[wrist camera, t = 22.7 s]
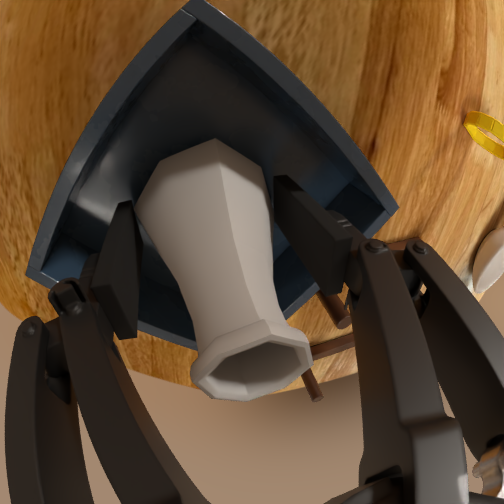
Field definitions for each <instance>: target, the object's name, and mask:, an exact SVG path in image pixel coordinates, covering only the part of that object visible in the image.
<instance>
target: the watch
mask: <svg viewBox="0 0 504 504" xmlns="http://www.w3.org/2000/svg"><path fill="white" fill-rule="evenodd" d="M463 126H465V128H466V129H467V131H468V132H469V134H470V136H471V137H472V139H473V140H474V141H475V142H476V143H478V144H479V145H480V146H481V147H482V148H484V149H485V150H487V151H488V152H490V153H491V154H493V155H495V156H497V157H498V158H500V159H502V160H504V146H503V145H501V144H499V143H496V142H495V141H494V140H492V139H491V138H489V137H488V136H486V135H485V134H484V133H483V132H482V131H481V130H479V129H478V128H477V126H479V127H480V128H483V129H485V130H487V131H488V132H491V133H492V134H493V135H495V136H496V137H497V138H499V139H500V140H501V141H503V143H504V125H503V124H502V123H501V122H499V121H498V120H497V119H494V118H493V117H491V116H489V115H487V114H485V113H481V112H477V111H470V112H469V113H467V115H466V118H465V121H464V123H463Z"/></svg>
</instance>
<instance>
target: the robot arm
mask: <svg viewBox="0 0 504 504" xmlns="http://www.w3.org/2000/svg"><path fill="white" fill-rule="evenodd" d="M273 190H274V221H275V223H276V224H277V226H278V227H279V229H280V230H281V232H282V233H283V234H284V236H285V237H286V239H287V240H288V242H289V243H290V245H291V246H292V248H293V249H294V250H295V252H296V253H297V255H298V256H299V258H300V259H301V261H302V262H303V264H304V265H305V267H306V268H307V270H308V271H309V273H310V274H311V276H312V277H313V279H314V280H315V282H316V283H317V285H318V286H319V288H320V289H321V291H322V292H323V294H324V296H325V297H328V296H331V295H335V294H338V293H342V288H343V284H344V282H345V283H346V285H347V286H348V287H349V290H348V294H347V298H346V302H345V305H344V310H347V306H348V305H349V310H350V316H351V322H352V329H353V335H354V342H355V350H356V357H357V366H358V374H359V384H360V394H361V407H362V420H363V439H364V451H363V455H362V458H361V461H360V465H359V487H357V488H355V489H353V490H351V491H348V492H346V493H344V494H342V495H339V496H337V497H335V498H332V499H330V500H329V501H328V502H326V503H324V504H504V338H503V336H502V335H501V333H500V332H499V330H498V329H497V328H496V326H495V324H494V323H493V322H492V320H491V319H490V317H489V316H488V315H487V313H486V312H485V311H484V309H483V308H482V306H481V305H480V304H479V302H478V301H477V300H476V298H475V297H474V296H473V295H472V293H471V292H470V291H469V290H468V288H467V287H466V286H465V285H464V283H463V282H462V281H461V280H460V279H459V277H458V276H457V275H456V274H455V273H454V272H453V270H452V269H451V268H450V267H449V266H448V265H447V263H446V262H445V261H444V260H443V259H442V258H441V257H440V256H439V255H438V253H437V252H436V251H435V250H434V249H433V248H432V247H431V246H430V245H428V244H427V243H425V242H424V241H421V240H409V241H408V242H407V243H406V246H405V249H404V250H391V249H390V247H389V246H388V245H387V244H386V243H384V242H383V241H380V240H378V239H372V238H370V239H367V238H366V237H365V236H364V235H363V234H362V233H361V232H360V231H359V230H358V229H357V228H356V227H355V226H354V225H353V226H352V224H351V223H350V222H349V221H347V219H346V218H345V217H344V216H343V215H342V214H340V213H338V212H336V211H334V210H328V211H326V210H325V209H324V208H323V207H322V206H321V205H320V204H319V203H318V202H317V201H315V200H314V199H313V198H312V197H311V196H310V195H309V194H308V193H307V192H306V191H305V190H303V189H302V188H301V187H300V186H299V185H298V184H297V183H296V182H294V181H293V180H292V179H291V178H290V177H289V176H288V175H278V176H273ZM143 245H144V244H143V240H142V237H141V233H140V230H139V226H138V223H137V219H136V215H135V211H134V207H133V204H132V200H129V201H124V202H120V203H118V204H117V207H116V210H115V212H114V215H113V218H112V220H111V223H110V226H109V228H108V231H107V234H106V237H105V240H104V243H103V246H102V249H101V252H100V253H96V254H91V255H90V256H89V258H88V259H87V260H86V261H85V263H84V265H83V268H82V272H81V274H80V278H79V280H78V279H77V278H74V277H69V278H65V279H63V280H61V281H59V282H58V283H56V284H55V285H54V286H53V287H52V288H51V290H50V292H49V294H48V299H49V301H50V303H51V304H52V306H53V307H54V309H55V311H56V312H57V314H58V315H59V317H57V318H56V319H53V320H51V321H49V322H47V323H45V324H44V323H43V322H42V320H41V319H40V318H39V317H37V316H31V317H29V318H27V319H25V320H24V321H23V322H22V323H21V325H20V326H19V327H18V330H17V332H16V337H15V341H14V346H13V351H12V357H11V364H10V370H9V377H8V387H7V396H6V410H5V455H6V469H7V478H8V486H9V493H10V499H11V504H94V501H93V497H92V493H91V489H90V485H89V481H88V476H87V471H86V466H85V461H84V455H83V449H82V442H81V435H80V427H79V418H78V405H79V408H80V411H81V414H82V417H83V420H84V423H85V425H86V428H87V431H88V434H89V437H90V439H91V442H92V444H93V446H94V449H95V451H96V454H97V456H98V458H99V460H100V463H101V465H102V467H103V469H104V471H105V473H106V475H107V477H108V479H109V481H110V483H111V485H112V487H113V489H114V491H115V493H116V494H117V497H118V498H119V500H120V502H121V504H211V503H210V502H209V501H207V499H205V497H204V496H203V495H202V494H201V492H200V491H199V490H198V489H197V487H196V486H195V485H194V483H193V482H192V481H191V479H190V478H189V477H188V475H187V474H186V472H185V471H184V470H183V468H182V467H181V465H180V464H179V462H178V461H177V459H176V458H175V456H174V455H173V453H172V452H171V450H170V449H169V447H168V445H167V444H166V442H165V440H164V439H163V437H162V436H161V434H160V432H159V430H158V429H157V427H156V425H155V424H154V422H153V420H152V418H151V416H150V415H149V413H148V411H147V409H146V407H145V405H144V403H143V402H142V400H141V398H140V396H139V394H138V392H137V390H136V388H135V386H134V384H133V382H132V379H131V377H130V376H129V373H128V371H127V369H126V366H125V364H124V362H123V360H122V357H121V355H120V353H119V350H118V348H117V346H116V344H115V343H114V341H113V336H114V332H115V334H116V335H117V337H118V339H119V340H124V339H131V338H137V325H138V303H139V287H140V275H141V264H142V254H143ZM423 284H424V285H425V286H426V288H427V289H426V291H425V293H424V294H423V293H422V292H421V291H420V289H421V287H422V285H423ZM438 382H439V384H440V386H441V388H442V390H443V392H444V394H445V396H446V398H447V401H448V403H449V405H450V407H451V410H452V412H453V414H454V416H455V418H452V417H449V416H447V415H446V413H445V411H444V407H443V402H442V397H441V393H440V389H439V384H438ZM77 402H78V405H77ZM463 437H464V440H465V442H466V444H467V446H468V447H469V449H470V451H471V452H472V454H473V455H474V457H475V458H476V459H477V461H478V462H477V463H476V464H475V465H474V467H473V471H472V473H473V476H474V477H476V478H479V477H481V478H482V480H483V491H482V494H478V493H474V492H469V490H468V474H467V464H466V455H465V448H464V441H463Z"/></svg>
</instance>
